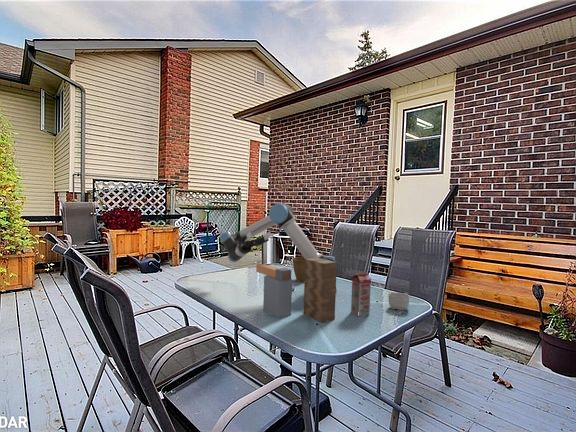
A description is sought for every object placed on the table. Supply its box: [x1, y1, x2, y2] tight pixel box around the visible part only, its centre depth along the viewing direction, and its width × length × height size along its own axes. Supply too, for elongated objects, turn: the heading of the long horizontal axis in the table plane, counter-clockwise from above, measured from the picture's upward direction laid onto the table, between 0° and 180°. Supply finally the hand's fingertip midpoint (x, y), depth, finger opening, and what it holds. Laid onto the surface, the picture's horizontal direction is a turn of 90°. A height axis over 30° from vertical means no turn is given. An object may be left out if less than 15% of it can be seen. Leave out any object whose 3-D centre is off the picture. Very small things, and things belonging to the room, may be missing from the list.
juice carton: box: [350, 270, 372, 317], centre depth 169 cm, size 7×7×22 cm
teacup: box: [387, 291, 410, 311], centre depth 181 cm, size 14×11×8 cm
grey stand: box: [262, 275, 293, 319], centre depth 167 cm, size 13×8×18 cm, turn 38°
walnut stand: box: [302, 258, 338, 324], centre depth 163 cm, size 14×8×28 cm, turn 38°
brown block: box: [255, 263, 292, 281], centre depth 171 cm, size 24×6×5 cm, turn 38°
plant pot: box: [292, 256, 305, 283], centre depth 238 cm, size 15×15×16 cm
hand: (260, 234), depth 188 cm, fingers open, 13 cm apart
